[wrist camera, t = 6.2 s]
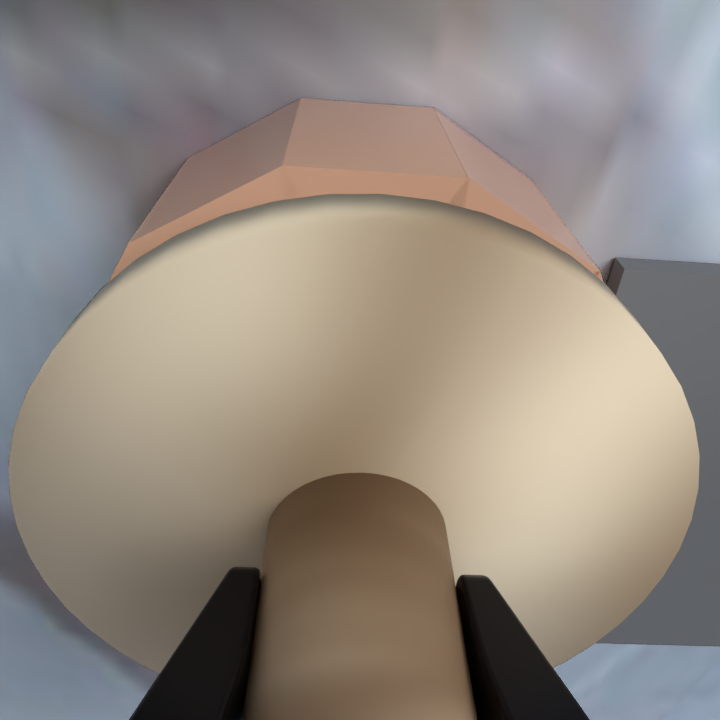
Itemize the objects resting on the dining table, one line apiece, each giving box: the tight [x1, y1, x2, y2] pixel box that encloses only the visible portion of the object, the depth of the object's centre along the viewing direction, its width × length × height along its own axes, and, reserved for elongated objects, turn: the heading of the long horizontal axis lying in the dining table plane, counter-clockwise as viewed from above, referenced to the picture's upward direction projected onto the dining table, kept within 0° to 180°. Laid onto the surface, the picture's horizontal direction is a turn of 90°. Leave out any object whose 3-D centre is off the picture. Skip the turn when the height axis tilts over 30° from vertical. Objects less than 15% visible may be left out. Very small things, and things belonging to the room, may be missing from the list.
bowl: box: [109, 98, 603, 281], centre depth 14 cm, size 10×10×4 cm
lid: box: [8, 194, 700, 720], centre depth 8 cm, size 10×10×7 cm
